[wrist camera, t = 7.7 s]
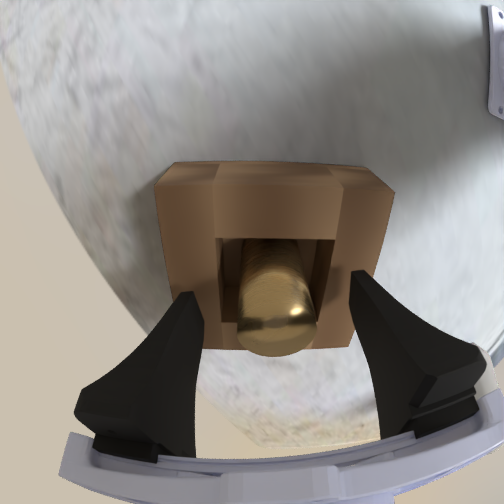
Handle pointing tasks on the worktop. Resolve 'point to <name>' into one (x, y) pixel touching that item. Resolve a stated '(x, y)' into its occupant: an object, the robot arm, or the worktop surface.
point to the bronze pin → (274, 298)
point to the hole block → (270, 234)
